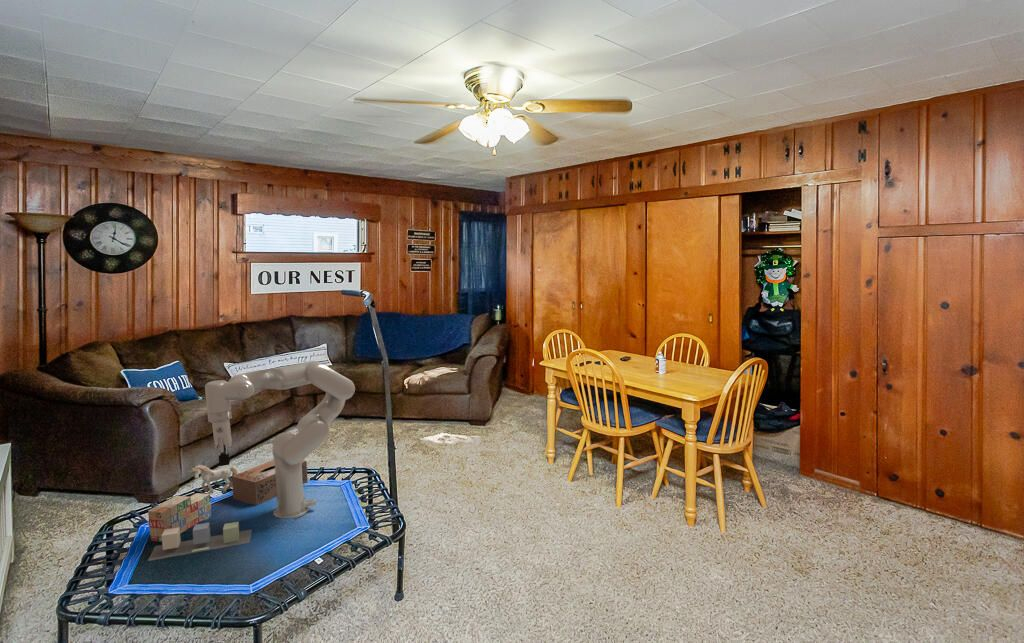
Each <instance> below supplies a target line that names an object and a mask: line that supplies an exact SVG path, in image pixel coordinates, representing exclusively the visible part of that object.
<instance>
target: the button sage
mask: <svg viewBox="0 0 1024 643" xmlns="http://www.w3.org/2000/svg"><path fill="white" fill-rule="evenodd" d="M239 532H240V523H239V521H233V522H229V523H224V524H223V528H222V535H223V536H224V543H229V542H235V541H238V540H239V535H240V534H239Z"/></svg>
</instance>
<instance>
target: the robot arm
mask: <svg viewBox="0 0 1024 643" xmlns="http://www.w3.org/2000/svg"><path fill="white" fill-rule="evenodd" d="M310 384H311V385H313V386H315V387H317V388H318V389H320V390H321V391H323V392H325V396H324V397H323V399H322V400H321V401H320V403H318V404H317V405H316V406H315V407H314V408H312V409H311V410H310V411H308V413H306V414H305V415H304V416H303V417H302V418H300V420H299V421H298V423H297V426H296V428H297V431H298V432H297V433H296V434H295V433H293V432H287V431H285V432H282V433H279V434H278V435H277V436H276V437H274V439H273V442H272V448H271V449H272V456H273V460H274V463H275V475H276V492H277V497H276V504H277V506H276V507H277V508H276V509H275V510H273V516H274V517H276V518H281V519H288V518H293V519H297V518H300V517H303V516H304V515H306V514H307V513H308V511H309V507H315V506H317V500H316V499H315V500H313V498H309V499H305V496H304V484H303V480H302V463H301V461H303V460H304V461H305V459H306V458H308V457H309V456H310V455H311V454H312V453H313V452H315V451H316V450H317V448H319V447H320V446H321V445H322V444H324V443H325V441H326V440H327V439H328V437H329V434H330V427H329V425H330V424H331V423H332V422H333V420H335V419H336V418H337V417H338V416H339V415H340V414H341V413H342V410H344V406H345V405H346V404H345V403H346V400H349V399H350V398H352V397H353V395H354V394H355V391H356V387H355V384H354V382H353V381H352V380H351V379H350V378H348V377H347V376H344V375H342V374H341V373H339V372H337V371H336V370H334V369H332V368H330V366H327V365H326V364H325V363H322V362H320V361H318V360H309V361H305V362H300V363H295V364H291V365H285V366H281V367H276V368H275V367H274V368H267V369H260V370H259V369H257V370H252V371H247V372H244V373H237V374H235V375H233V376H231V378H230V379H228V381H227V380H223V379H221V380H212V381H209V382H207V383H206V384H205V385H204V392H205V401H206V411H207V421H208V423H211V424H212V425H211V426H212V432H213V433H212V435H213V441H214V448H215V450H217V451H218V464H219V467H223V466H229V465H230V462H231V461H230V452H229V448H231V446H232V443H233V442H232V441H233V438H232V430H231V423H230V420H232V418H233V414H232V412H233V411H232V404H231V401H242V400H247V399H249V398H251V397H252V395H254V392H255V391H258V390H267V389H268V390H269V389H271V390H277V391H279V390H284V391H285V390H288V389H289V390H290V389H293V388H296V387H301V386H306V385H310Z"/></svg>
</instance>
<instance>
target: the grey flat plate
mask: <svg viewBox="0 0 1024 643" xmlns="http://www.w3.org/2000/svg"><path fill="white" fill-rule="evenodd" d="M252 532H253V529H247V530H242V531H240V530H239V534H240V535H239V540H238V541H235V542H229V543H224V536H223V534H218V535H213V536H212V535H210V539H209V542H206V543H200V544H195V545H194V541H193V539H190V540H183V541H182V540H181V542H180V544H179V547H178V548H172V549H166V550H163V546H162V544H161V545H160V544H159V545H155V546H154V548H153V549H152V551H151V554H150V555H149V557H148V559H147V562H150V561H157V560H162V559H167V558H172V557H173V558H174V557H179V556H184V555H189V554H195V553H200V552H206V551H212V550H218V549H222V548H229V547H234V546H239V545H245V544H246V545H247V544H250V543H251V538H252Z"/></svg>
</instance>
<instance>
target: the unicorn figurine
mask: <svg viewBox="0 0 1024 643" xmlns="http://www.w3.org/2000/svg"><path fill="white" fill-rule="evenodd" d="M191 469H192V470H188V471H187V473H193V474H194V479H195V480H198V479H199V478H200V477H199V476H201V479H202V482H201V487H202V489H203V491H205V493H207V494H210V495H211V494H214V488H213V487H212V484H211V482H216V481H219V480H223V481H224V482H225V484H224V485H223V487H222V492H223V493H226V492H227V491H228V490H230V489H233V487H232V476H233V475H236V474H238V471H237V468H235V467H230V468H227V467H226V468H225V467H224V468H221V469H217V470H216V469H215V470H213V469H211V468H209V467H208V466H206V465H202V464H198V465H196V466H195V467H194V468H192V467H191ZM205 484H206V485H207V486H205Z"/></svg>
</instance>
